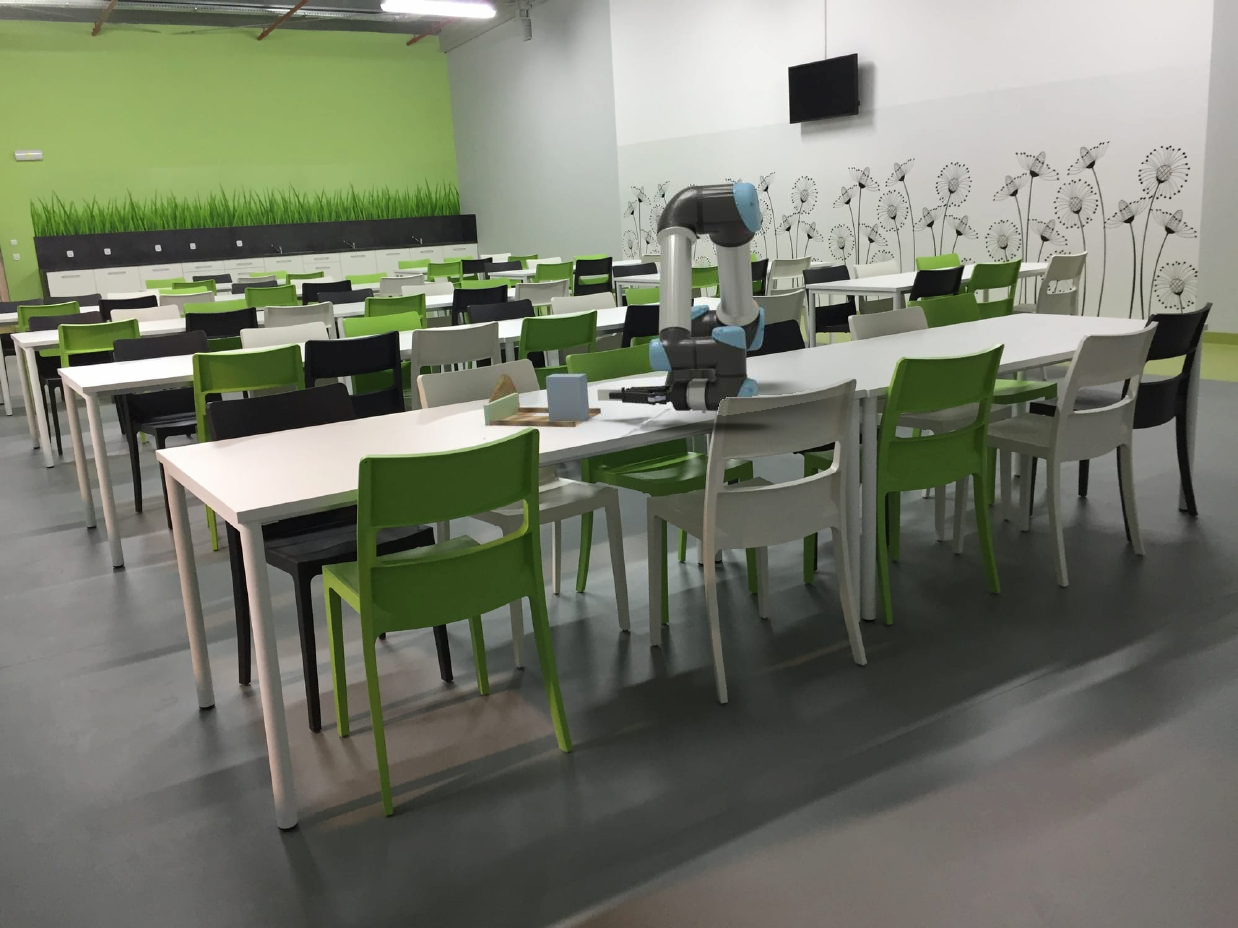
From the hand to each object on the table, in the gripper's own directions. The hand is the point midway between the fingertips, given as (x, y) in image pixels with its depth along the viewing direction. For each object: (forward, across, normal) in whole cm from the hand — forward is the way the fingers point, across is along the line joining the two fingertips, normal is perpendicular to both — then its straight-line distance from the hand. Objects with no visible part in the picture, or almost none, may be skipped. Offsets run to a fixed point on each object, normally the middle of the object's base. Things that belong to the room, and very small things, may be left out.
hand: (598, 394), depth 243 cm
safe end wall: (+27, 0, -7) cm, 28 cm away
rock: (+34, +14, -8) cm, 38 cm away
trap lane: (+15, 0, -7) cm, 17 cm away
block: (+8, 0, -6) cm, 11 cm away
